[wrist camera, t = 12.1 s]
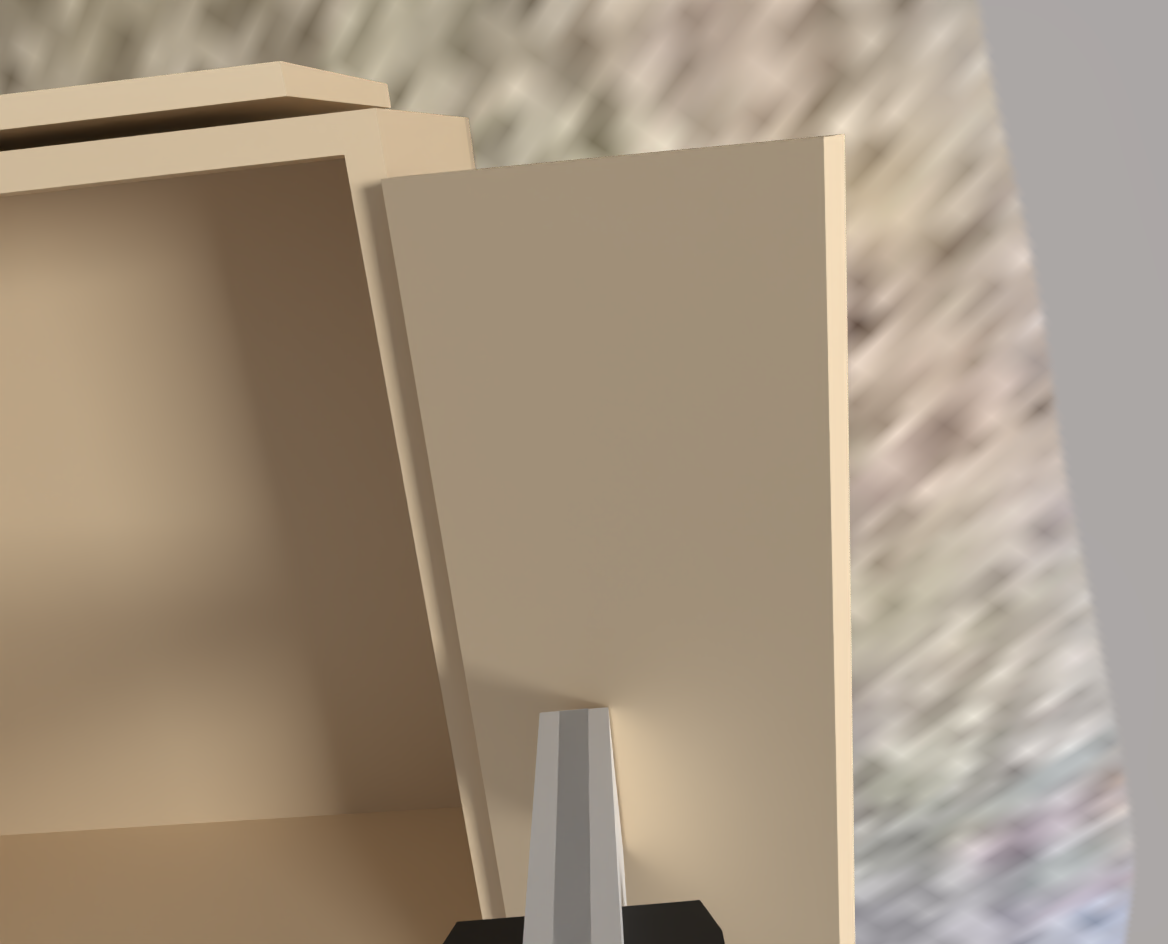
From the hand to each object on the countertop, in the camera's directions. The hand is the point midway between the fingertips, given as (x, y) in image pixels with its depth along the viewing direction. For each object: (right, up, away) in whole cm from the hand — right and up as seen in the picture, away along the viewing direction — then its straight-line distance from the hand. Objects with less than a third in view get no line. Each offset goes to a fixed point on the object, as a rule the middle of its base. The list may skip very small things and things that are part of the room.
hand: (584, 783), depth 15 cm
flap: (-2, +1, +3) cm, 4 cm away
